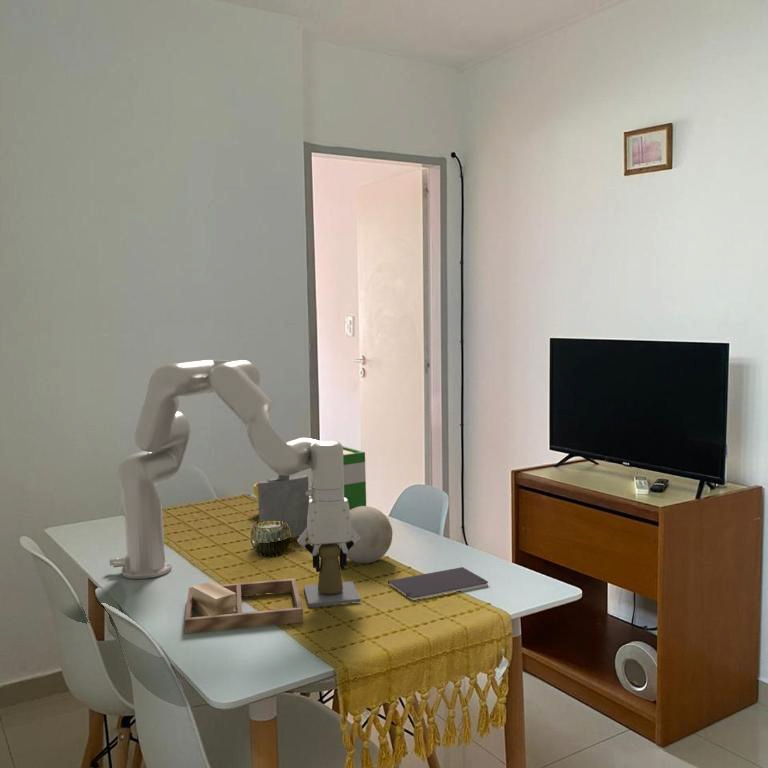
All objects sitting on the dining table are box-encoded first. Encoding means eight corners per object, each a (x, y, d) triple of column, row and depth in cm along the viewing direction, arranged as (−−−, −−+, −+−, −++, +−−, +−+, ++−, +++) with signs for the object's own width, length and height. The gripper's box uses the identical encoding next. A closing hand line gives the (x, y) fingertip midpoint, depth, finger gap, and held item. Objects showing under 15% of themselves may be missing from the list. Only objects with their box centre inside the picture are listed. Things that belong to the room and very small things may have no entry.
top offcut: (216, 612, 177) (216, 599, 176) (192, 599, 185) (192, 586, 185) (236, 606, 180) (236, 593, 180) (212, 593, 188) (211, 581, 188)
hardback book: (318, 521, 258) (315, 446, 255) (338, 517, 262) (336, 444, 259) (345, 533, 243) (343, 455, 240) (366, 529, 247) (364, 452, 244)
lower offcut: (210, 629, 175) (209, 615, 175) (193, 608, 187) (193, 595, 187) (236, 623, 178) (236, 610, 177) (219, 603, 190) (218, 591, 190)
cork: (320, 594, 188) (319, 548, 187) (315, 586, 194) (314, 541, 192) (345, 592, 189) (344, 546, 188) (340, 583, 195) (339, 539, 194)
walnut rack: (185, 633, 172) (184, 619, 171) (189, 599, 191) (189, 587, 191) (303, 622, 176) (302, 608, 176) (295, 590, 196) (295, 578, 196)
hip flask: (307, 530, 247) (305, 466, 245) (313, 534, 243) (310, 468, 241) (258, 539, 239) (255, 473, 237) (263, 543, 235) (260, 475, 233)
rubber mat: (308, 607, 185) (308, 603, 185) (303, 589, 196) (303, 585, 196) (360, 602, 187) (360, 598, 187) (352, 585, 199) (352, 581, 198)
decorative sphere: (328, 558, 220) (326, 504, 218) (377, 550, 226) (376, 497, 225) (351, 574, 206) (349, 517, 205) (403, 564, 213) (401, 509, 212)
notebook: (462, 572, 208) (388, 586, 199) (462, 566, 207) (387, 580, 198) (489, 588, 196) (411, 603, 187) (489, 582, 196) (411, 597, 187)
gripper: (292, 500, 184) (294, 577, 186) (366, 495, 187) (368, 571, 189) (290, 492, 191) (292, 567, 193) (361, 488, 194) (362, 561, 196)
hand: (329, 568), depth 191 cm, fingers closed on cork, 5 cm apart
